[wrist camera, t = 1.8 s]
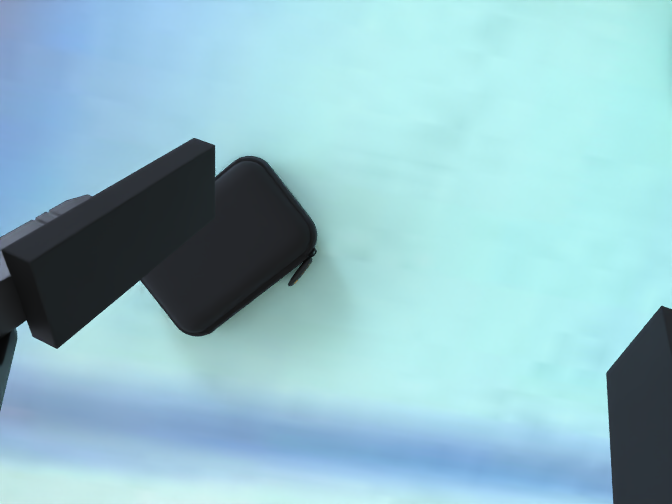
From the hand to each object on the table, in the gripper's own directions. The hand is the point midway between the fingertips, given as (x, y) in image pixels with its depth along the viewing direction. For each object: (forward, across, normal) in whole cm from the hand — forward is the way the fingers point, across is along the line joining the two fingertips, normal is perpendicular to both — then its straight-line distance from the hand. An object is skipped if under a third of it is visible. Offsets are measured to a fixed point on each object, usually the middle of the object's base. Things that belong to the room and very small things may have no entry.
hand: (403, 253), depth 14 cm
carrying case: (+16, -16, -18) cm, 29 cm away
